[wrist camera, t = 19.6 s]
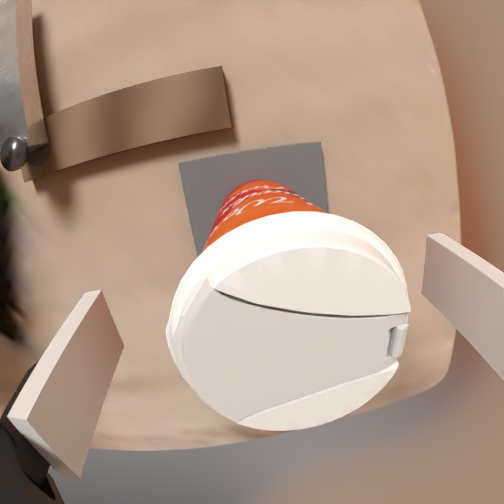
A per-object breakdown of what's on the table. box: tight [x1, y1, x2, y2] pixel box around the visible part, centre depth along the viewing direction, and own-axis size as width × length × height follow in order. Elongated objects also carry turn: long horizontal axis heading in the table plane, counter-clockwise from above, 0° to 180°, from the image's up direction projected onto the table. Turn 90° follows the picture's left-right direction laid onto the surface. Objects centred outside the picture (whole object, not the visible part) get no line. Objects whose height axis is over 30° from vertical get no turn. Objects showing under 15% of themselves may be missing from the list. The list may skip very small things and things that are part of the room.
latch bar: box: [0, 0, 49, 171], centre depth 15 cm, size 15×3×3 cm, turn 12°
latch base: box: [21, 66, 232, 182], centre depth 20 cm, size 17×4×1 cm, turn 99°
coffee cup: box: [165, 180, 411, 431], centre depth 16 cm, size 8×8×15 cm
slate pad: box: [178, 142, 328, 256], centre depth 23 cm, size 10×10×1 cm
